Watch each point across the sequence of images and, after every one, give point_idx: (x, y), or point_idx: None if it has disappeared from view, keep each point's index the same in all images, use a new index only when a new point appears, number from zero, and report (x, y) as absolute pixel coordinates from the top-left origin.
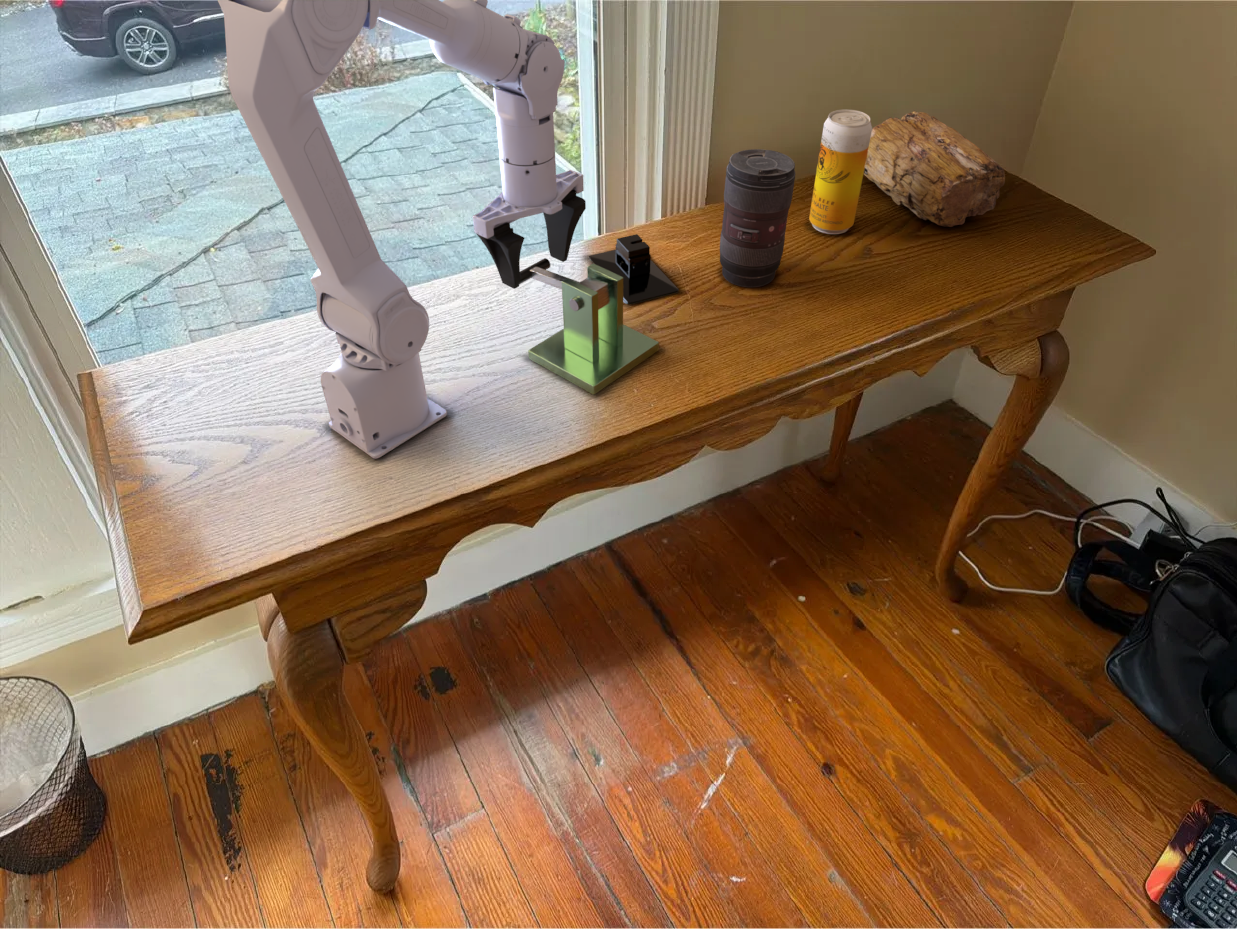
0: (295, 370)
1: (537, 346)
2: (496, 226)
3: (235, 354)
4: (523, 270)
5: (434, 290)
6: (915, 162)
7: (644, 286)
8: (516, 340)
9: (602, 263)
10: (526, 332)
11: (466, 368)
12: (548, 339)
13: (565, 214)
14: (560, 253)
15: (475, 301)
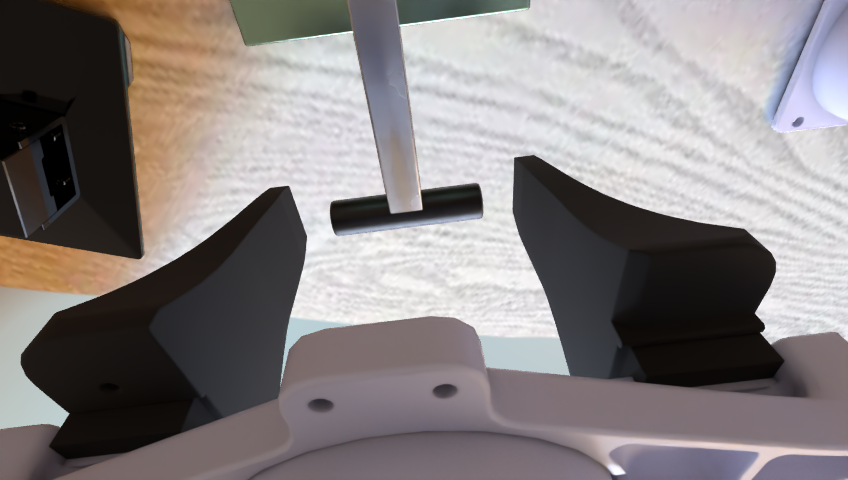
0: (790, 272)
1: (497, 5)
2: (725, 386)
3: None
4: (441, 217)
5: (476, 322)
6: None
7: (25, 55)
8: (482, 99)
9: (118, 218)
10: (442, 110)
11: (643, 84)
12: (450, 12)
13: (210, 326)
14: (286, 212)
15: (445, 263)
